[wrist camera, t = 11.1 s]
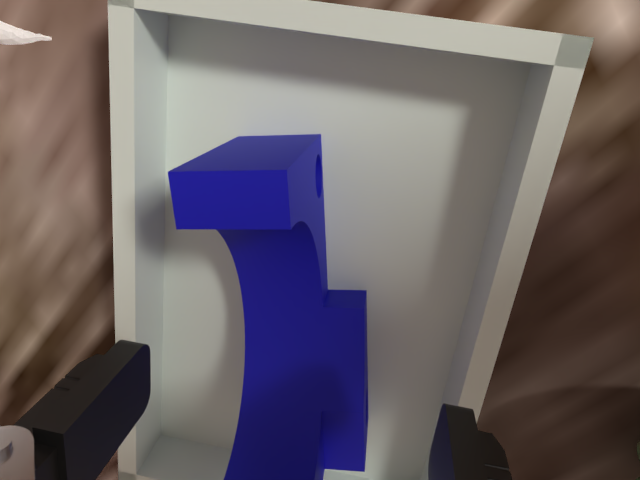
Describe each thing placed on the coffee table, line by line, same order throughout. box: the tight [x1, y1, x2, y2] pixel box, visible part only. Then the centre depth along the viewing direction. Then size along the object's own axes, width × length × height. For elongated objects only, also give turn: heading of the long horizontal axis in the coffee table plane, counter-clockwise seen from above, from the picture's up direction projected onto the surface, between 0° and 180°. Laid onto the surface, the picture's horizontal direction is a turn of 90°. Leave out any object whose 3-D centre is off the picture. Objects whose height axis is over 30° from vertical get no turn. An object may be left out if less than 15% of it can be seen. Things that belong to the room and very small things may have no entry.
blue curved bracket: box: [168, 134, 369, 480], centre depth 17 cm, size 12×4×6 cm, turn 3°
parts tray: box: [108, 0, 594, 480], centre depth 19 cm, size 14×20×3 cm
